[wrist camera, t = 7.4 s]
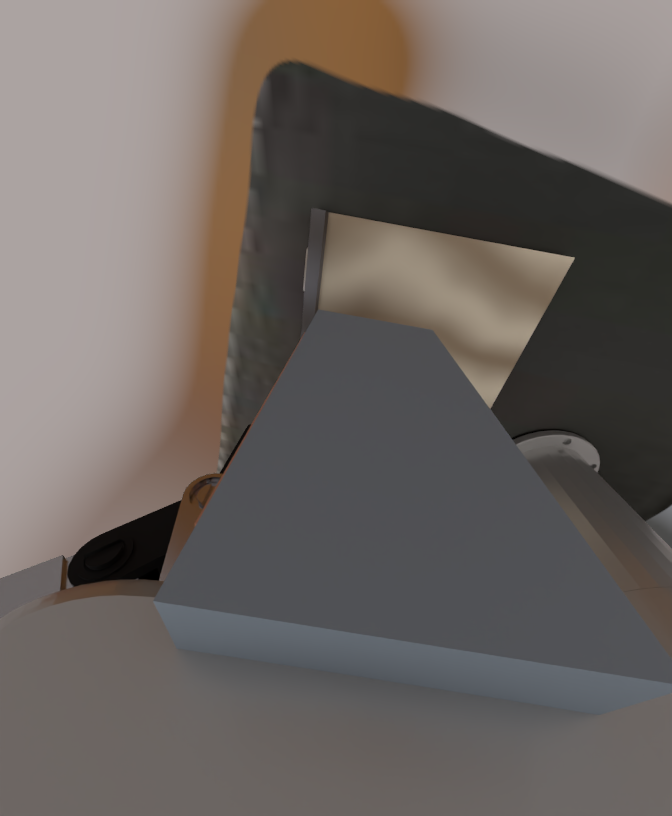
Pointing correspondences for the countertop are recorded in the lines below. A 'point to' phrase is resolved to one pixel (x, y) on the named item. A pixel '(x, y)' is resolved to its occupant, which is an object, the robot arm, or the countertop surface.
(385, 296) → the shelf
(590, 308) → the countertop surface
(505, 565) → the carton
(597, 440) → the countertop surface
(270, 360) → the countertop surface
